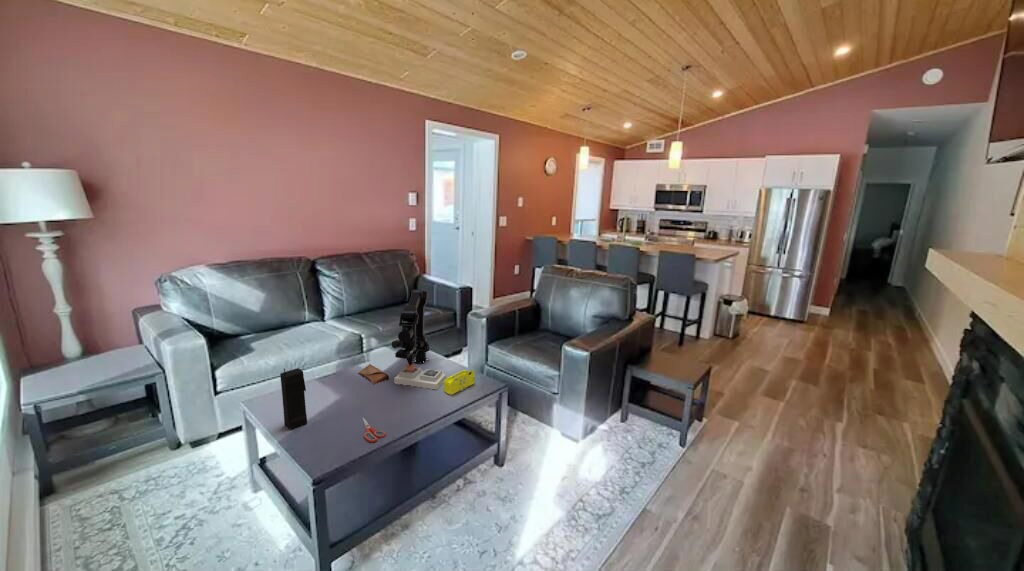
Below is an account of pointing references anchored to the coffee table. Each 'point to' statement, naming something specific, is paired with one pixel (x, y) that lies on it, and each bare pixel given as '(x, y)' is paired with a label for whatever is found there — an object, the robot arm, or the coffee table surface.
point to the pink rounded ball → (410, 367)
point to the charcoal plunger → (431, 373)
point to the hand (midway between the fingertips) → (410, 364)
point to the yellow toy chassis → (459, 381)
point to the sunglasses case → (373, 374)
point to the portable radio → (293, 398)
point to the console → (420, 378)
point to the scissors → (372, 432)
